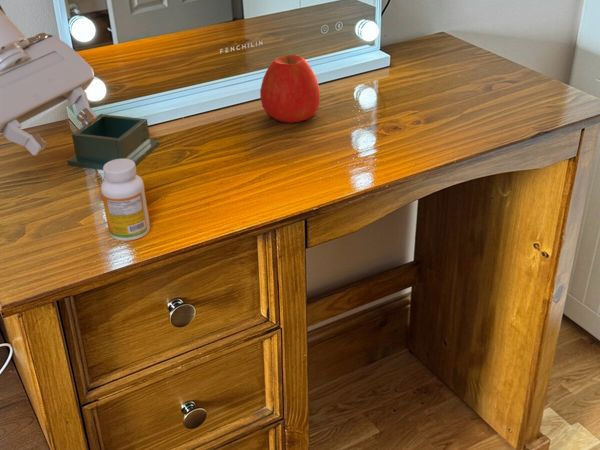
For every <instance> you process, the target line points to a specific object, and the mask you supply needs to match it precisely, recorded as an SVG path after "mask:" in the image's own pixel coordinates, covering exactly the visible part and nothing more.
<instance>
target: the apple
mask: <svg viewBox="0 0 600 450" xmlns="http://www.w3.org/2000/svg"><path fill="white" fill-rule="evenodd" d="M319 85H320V84H319V81H318V78H317V76H316V74H315V72H314V71H313V69H312V66H310V64H309V62H308V61H307V59H306V58H303V57H301V56H299V55H296V54H290V55H285V56H280V57H277V58H276V59H274V60H273V61H272V62H271V63H270V65H269V66H268V67H267V69H266V71H265V73H264V76H263V78H262V81H261V86H260V90H259V94H260V95H259V96H260V97H259V98H260V102H261V106H262V108H263V110H264V112H265V113H266V114H267V115H268V116H270V117H271V118H273V119H274V120H276V121H278V122H281V123H287V124H291V123H298V122H303V121H305V120H308V119H310V118H312V117H313V116H314V115H315V114H316V112H317V110H318V109H319V107H320V104H321V90H320V86H319Z"/></svg>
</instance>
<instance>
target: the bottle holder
mask: <svg viewBox="0 0 600 450" xmlns="http://www.w3.org/2000/svg"><path fill="white" fill-rule="evenodd" d="M96 116H97V118H96V120H95V121H94V122H93V123H91V124H89V125H88V126H83V125H82V127H80V128H79V129H78V130H76V131H75V132H73V133H72V134H71V139H72V143H73V148H74V153H75V154H74V155H73V156H71V157H70V158H69V159H67V160H66V162H67V165H68V166H71V167H79V168H85V169H86V168H88V169H94V170H101V171H103V166H104V165H105V164H106V163H107V162H109V161H112V160H115V159H130V160H132V161H134V162H135V166H136V167H137V165H138V164H140V163H141V162H142V161H143V160H144V159H146V157H148V156H149V155H150V154H151V153H152V152H153V151H155V150H156V148H158V147H159V146H160V140H159V139H151V137H150V130H149V123H148V119H147V118H140V117H131V116H122V115H113V114H105V113H100V114H99V115H96Z"/></svg>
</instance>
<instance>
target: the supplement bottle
mask: <svg viewBox="0 0 600 450" xmlns="http://www.w3.org/2000/svg"><path fill="white" fill-rule="evenodd" d="M102 171H103V176H104V180H103V181H102V182H101V185H100V191H101V197H102V202H103V203H102V204H103V208H104V215H105V219H106V225H107V229H108V233H109V236H110V237H111V238H113V239H114V240H117V241H120V242H129V241H136V240H138V239H141V238H143V237H145V236H146V235H148V233H149V232H150V230H151V222H150V215H149V209H148V202H147V196H146V195H147V194H146V188H145V183H144V180H143V179H142V177H141V176H140V175H138V174H137V165H136V166H135V162H134V161H132V160H130V159H115V160H112V161H109V162H107V163H106V164H105V165H104V166H103V170H102Z"/></svg>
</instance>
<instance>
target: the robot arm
mask: <svg viewBox="0 0 600 450" xmlns="http://www.w3.org/2000/svg"><path fill="white" fill-rule="evenodd" d="M94 79H95V71H94V69H93V67H92V66H91V65H90V64H89V62H87V60H85V59H84V58H83V57H82V56H81V54H79V53H78V52H77V51H76V50H75V49H74V48H72V47H71V46H70V45H69V44H67V43H66V42H65V41H63V40H61V39H60V37H58V36H56V35H53V34H49V33H48V34H47V33H46V32H40V33H38V34H36V35H34V36H31V37H28V38H27V37H26V36H25V35H24V33H22V32H21V30H20V29H19V28H18V27H17V26H16V25H15V23H13V21H12V20H11V19H10V18H9V17H8V15H6V12H5V11H4V8H3V7H2V6H1V5H0V135H1V134H2V136H4V137H5V139H6V140H7V141H10V142H12V143H15V144H17V145H20V146H22V147H24V148H25V149H26V150H27V151H28V153H30V155H32V156H33V157H34V156H37V155H39V154H41V153H42V152H44V151H45V150H46V148H47V146H48V144H47V142H46V141H45V140H44V139H43V138H42V136H41V135H40V134H39V133H37V134H35V135H32V134H31V133H29V132H27V131H25V130H23V129H21V128H22V124H23V123H24V122H26V121H28V120H30V119H32V118H34V117H36V116H38V115H39V114H41V113H44V112H46V111H48V110H50V109H52V108H53V107H56V106H57V105H59V104H61V103H63V102H65V101H68V103H70V105H71V106H74V105H75V107H76V109H77V111H78V114H77V115H76V120H77V121H78V122H80V123H81V125H82V127H83V126H88V125H89V124H91V123H93V122H94V121H95V120H96V118H97V116H98V115H97V114H96V112H95V111H93V109H92V108H91V107H90V103H89V100H88V95H87V92H86V90H87V89H88V88H89V86H90V85H91V84H92V82H93V81H94Z"/></svg>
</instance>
